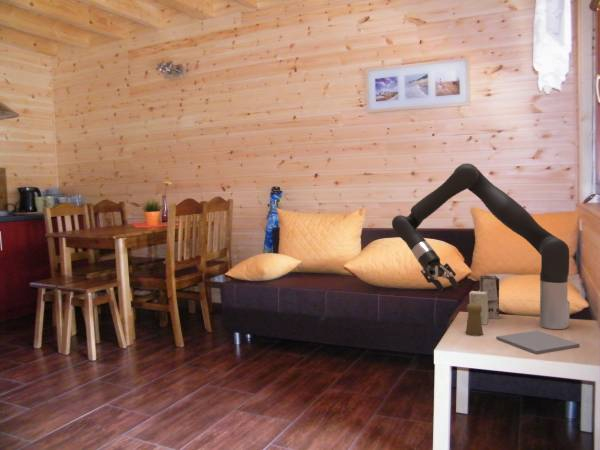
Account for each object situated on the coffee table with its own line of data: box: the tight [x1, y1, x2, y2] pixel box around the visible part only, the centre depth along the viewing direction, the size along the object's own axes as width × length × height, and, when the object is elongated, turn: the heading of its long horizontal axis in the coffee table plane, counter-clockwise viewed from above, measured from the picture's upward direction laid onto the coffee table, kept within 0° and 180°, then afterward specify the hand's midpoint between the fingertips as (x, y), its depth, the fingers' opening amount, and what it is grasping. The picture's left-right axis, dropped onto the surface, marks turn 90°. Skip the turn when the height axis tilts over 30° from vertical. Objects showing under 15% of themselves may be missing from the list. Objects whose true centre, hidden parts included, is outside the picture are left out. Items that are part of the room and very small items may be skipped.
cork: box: [465, 302, 484, 337], centre depth 187 cm, size 6×6×11 cm
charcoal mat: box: [495, 329, 580, 355], centre depth 174 cm, size 18×18×1 cm
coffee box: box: [479, 275, 500, 320], centre depth 211 cm, size 9×6×16 cm
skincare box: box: [468, 290, 489, 326], centre depth 201 cm, size 6×4×12 cm
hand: (449, 288), depth 195 cm, fingers open, 8 cm apart
